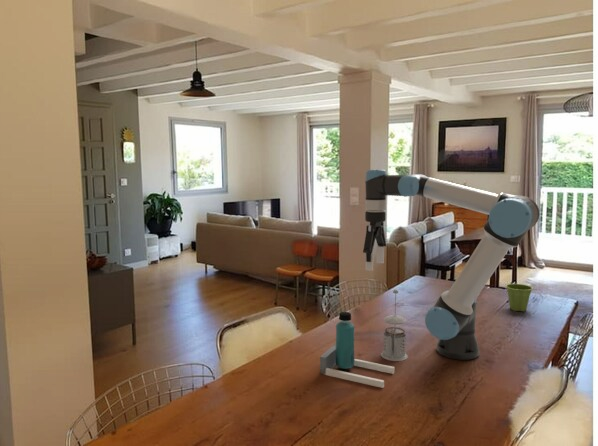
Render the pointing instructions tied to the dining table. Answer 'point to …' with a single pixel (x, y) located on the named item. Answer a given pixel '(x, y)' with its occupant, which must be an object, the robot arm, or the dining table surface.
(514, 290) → the plant pot
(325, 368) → the guide track
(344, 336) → the beverage bottle
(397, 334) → the french press
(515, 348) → the dining table surface
